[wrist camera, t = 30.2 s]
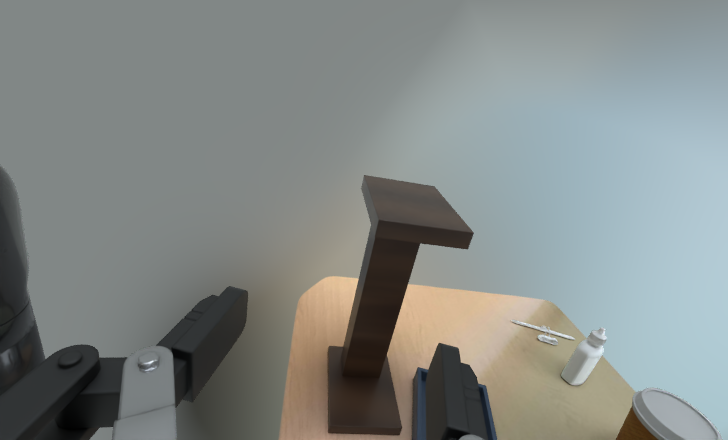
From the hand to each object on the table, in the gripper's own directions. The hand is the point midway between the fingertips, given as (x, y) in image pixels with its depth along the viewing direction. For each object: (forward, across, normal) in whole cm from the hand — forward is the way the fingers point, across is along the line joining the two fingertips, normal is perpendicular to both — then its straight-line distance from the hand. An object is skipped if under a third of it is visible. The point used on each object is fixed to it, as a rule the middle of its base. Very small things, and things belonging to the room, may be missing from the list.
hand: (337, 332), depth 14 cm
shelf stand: (+28, -3, +35) cm, 45 cm away
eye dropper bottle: (+43, -42, +35) cm, 70 cm away
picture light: (+54, -40, +35) cm, 76 cm away
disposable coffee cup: (+27, -44, +35) cm, 63 cm away
